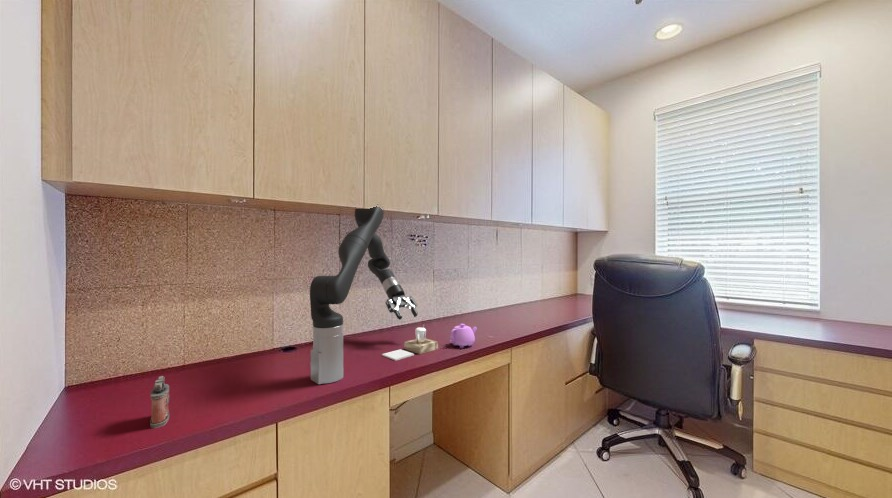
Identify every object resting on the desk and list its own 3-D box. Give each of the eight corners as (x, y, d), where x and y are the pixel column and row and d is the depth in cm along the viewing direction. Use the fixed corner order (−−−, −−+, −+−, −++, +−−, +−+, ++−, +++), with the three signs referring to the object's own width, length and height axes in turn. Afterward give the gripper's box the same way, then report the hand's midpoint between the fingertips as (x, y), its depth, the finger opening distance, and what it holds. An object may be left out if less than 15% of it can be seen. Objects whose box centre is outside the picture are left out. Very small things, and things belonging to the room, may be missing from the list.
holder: (419, 354, 131) (419, 346, 131) (404, 349, 138) (404, 342, 138) (438, 348, 138) (437, 341, 138) (422, 344, 145) (422, 337, 145)
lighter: (167, 425, 78) (167, 382, 78) (148, 429, 76) (148, 386, 76) (170, 412, 85) (170, 373, 85) (153, 415, 83) (153, 375, 83)
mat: (395, 360, 123) (395, 359, 123) (382, 355, 130) (381, 354, 130) (414, 355, 130) (414, 353, 130) (400, 350, 136) (400, 349, 136)
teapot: (443, 345, 143) (443, 324, 144) (469, 339, 152) (469, 319, 152) (458, 351, 135) (457, 328, 135) (484, 344, 144) (484, 323, 144)
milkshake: (428, 347, 140) (428, 324, 140) (422, 351, 135) (422, 327, 135) (419, 346, 141) (419, 323, 142) (413, 350, 137) (413, 326, 137)
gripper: (383, 284, 145) (399, 314, 137) (408, 282, 155) (425, 309, 147) (376, 295, 149) (391, 324, 141) (402, 292, 159) (417, 319, 151)
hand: (408, 317), depth 144 cm, fingers open, 8 cm apart
